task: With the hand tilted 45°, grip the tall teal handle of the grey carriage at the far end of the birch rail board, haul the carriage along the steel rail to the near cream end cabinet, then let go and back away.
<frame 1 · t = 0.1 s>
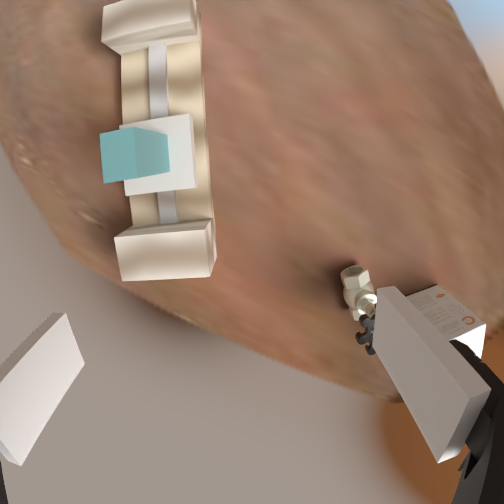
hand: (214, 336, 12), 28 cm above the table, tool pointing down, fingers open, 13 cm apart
valve: (353, 286, 42), on the table
small box: (417, 309, 43), on the table
rail board: (166, 131, 36), on the table
carriage: (144, 155, 28), point 9 cm above the table, slide at 3.0 cm
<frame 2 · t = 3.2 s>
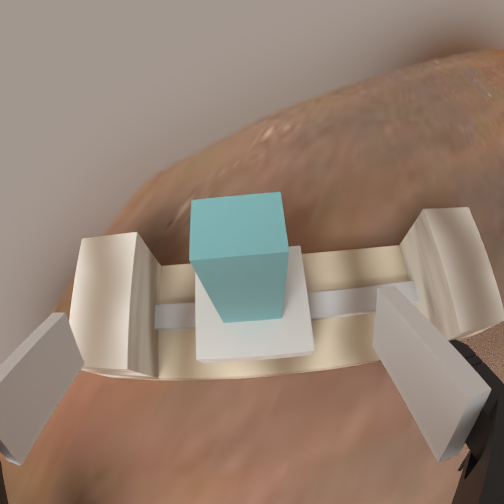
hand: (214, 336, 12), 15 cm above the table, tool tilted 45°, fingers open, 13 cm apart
rail board: (289, 317, 27), on the table
carriage: (247, 281, 19), point 9 cm above the table, slide at 3.0 cm
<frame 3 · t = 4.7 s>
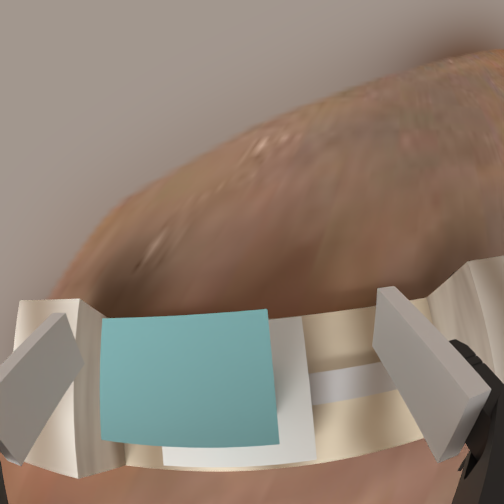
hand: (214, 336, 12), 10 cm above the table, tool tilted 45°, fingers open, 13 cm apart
rail board: (285, 393, 20), on the table
carriage: (222, 392, 12), point 9 cm above the table, slide at 3.0 cm
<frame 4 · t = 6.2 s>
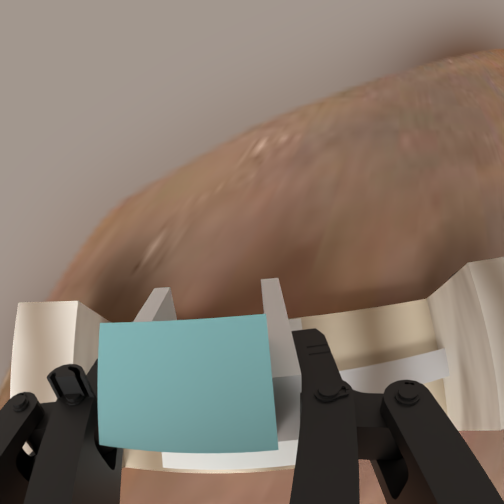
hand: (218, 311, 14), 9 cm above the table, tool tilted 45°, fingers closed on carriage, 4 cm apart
rail board: (285, 395, 20), on the table
carriage: (222, 395, 12), point 9 cm above the table, slide at 3.0 cm, touching gripper
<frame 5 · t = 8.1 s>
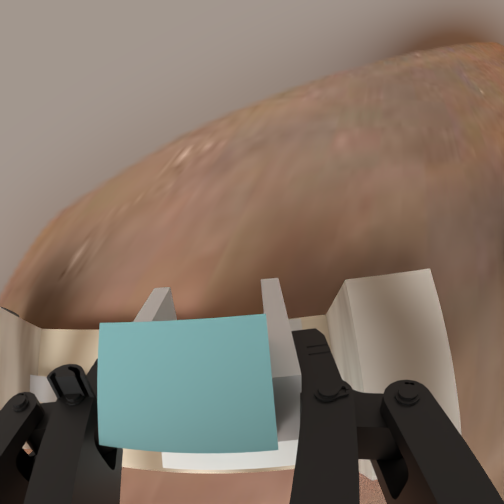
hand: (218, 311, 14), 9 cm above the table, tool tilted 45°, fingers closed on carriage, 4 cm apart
rail board: (172, 401, 20), on the table
carriage: (221, 396, 12), point 9 cm above the table, slide at -4.9 cm, touching gripper
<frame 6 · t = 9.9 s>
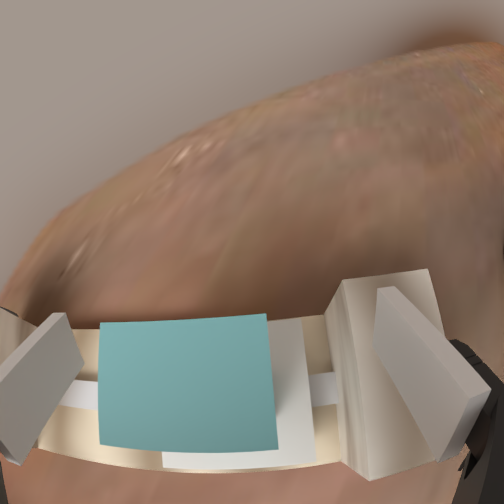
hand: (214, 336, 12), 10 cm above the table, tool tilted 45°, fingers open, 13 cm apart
rail board: (171, 401, 20), on the table
carriage: (222, 395, 12), point 9 cm above the table, slide at -5.0 cm
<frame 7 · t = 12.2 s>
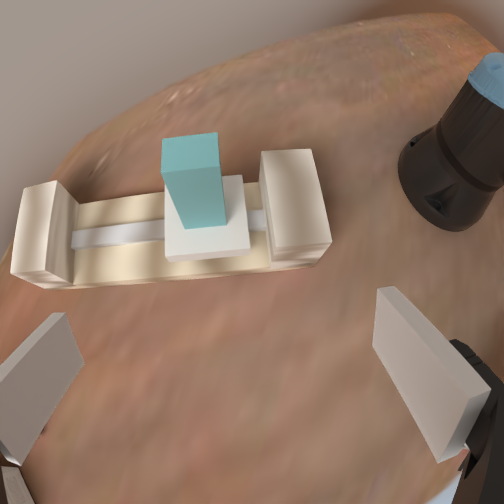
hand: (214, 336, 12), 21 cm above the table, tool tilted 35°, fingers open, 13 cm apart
small box: (16, 490, 23), on the table
rail board: (166, 238, 35), on the table
carriage: (200, 195, 27), point 9 cm above the table, slide at -5.0 cm
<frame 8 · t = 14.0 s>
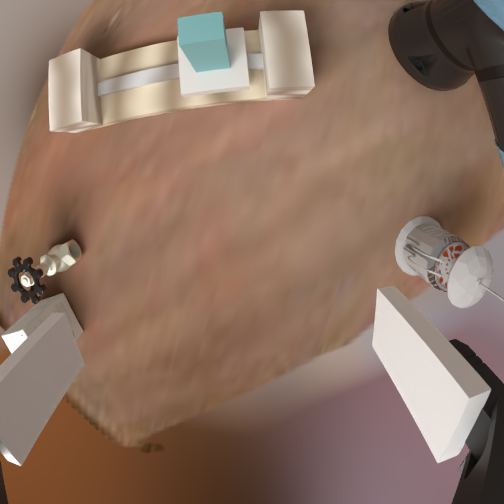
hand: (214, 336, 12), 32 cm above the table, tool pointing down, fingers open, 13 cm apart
valve: (67, 253, 44), on the table
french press: (416, 245, 44), on the table
small box: (62, 315, 47), on the table
rail board: (179, 76, 37), on the table
carriage: (208, 49, 28), point 9 cm above the table, slide at -5.0 cm
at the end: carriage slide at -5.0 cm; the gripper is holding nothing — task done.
